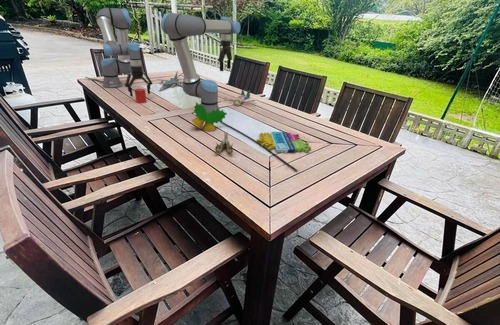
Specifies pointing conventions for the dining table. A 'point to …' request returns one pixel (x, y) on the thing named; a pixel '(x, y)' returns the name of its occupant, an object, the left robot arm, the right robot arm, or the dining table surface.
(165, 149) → the dining table surface
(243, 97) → the toy
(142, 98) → the can
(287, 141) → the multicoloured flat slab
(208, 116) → the ornament
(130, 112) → the dining table surface
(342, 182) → the dining table surface
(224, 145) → the jawbone
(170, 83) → the airplane
